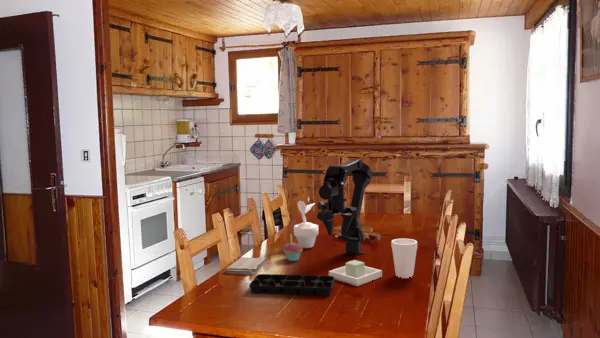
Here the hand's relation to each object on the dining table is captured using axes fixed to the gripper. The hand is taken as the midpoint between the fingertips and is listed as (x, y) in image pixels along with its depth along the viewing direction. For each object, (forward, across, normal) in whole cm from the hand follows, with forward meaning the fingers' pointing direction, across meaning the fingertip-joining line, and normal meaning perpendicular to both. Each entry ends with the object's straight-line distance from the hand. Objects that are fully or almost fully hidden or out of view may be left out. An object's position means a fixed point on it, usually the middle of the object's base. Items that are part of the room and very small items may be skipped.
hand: (337, 233), depth 205 cm
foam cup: (+12, -4, +30) cm, 33 cm away
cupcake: (+12, +10, -17) cm, 23 cm away
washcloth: (+13, +30, -22) cm, 40 cm away
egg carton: (+13, +35, +10) cm, 38 cm away
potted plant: (+12, -9, -28) cm, 32 cm away
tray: (+12, +10, +18) cm, 24 cm away
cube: (+11, +10, +18) cm, 23 cm away
